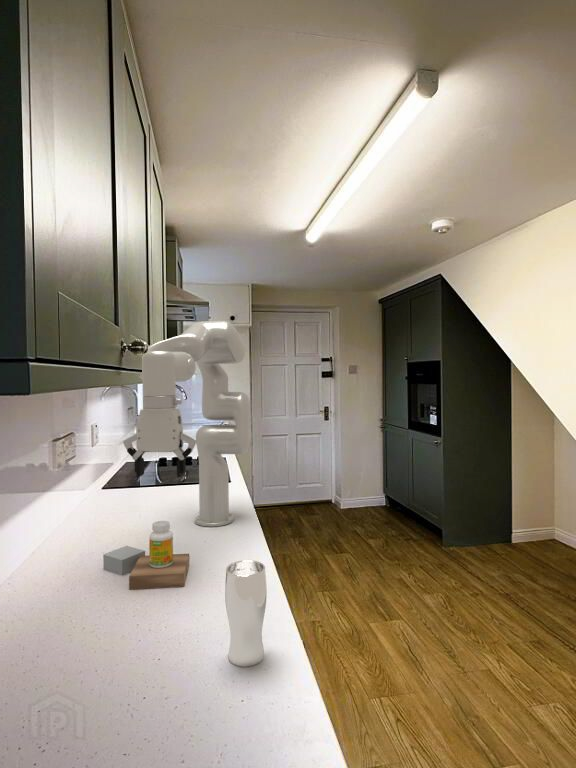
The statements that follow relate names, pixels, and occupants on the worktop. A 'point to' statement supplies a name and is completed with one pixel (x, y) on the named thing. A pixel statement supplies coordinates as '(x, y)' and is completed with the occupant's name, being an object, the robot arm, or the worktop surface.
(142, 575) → the walnut block
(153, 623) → the worktop surface
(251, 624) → the beer glass
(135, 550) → the slate block
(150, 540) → the supplement bottle
